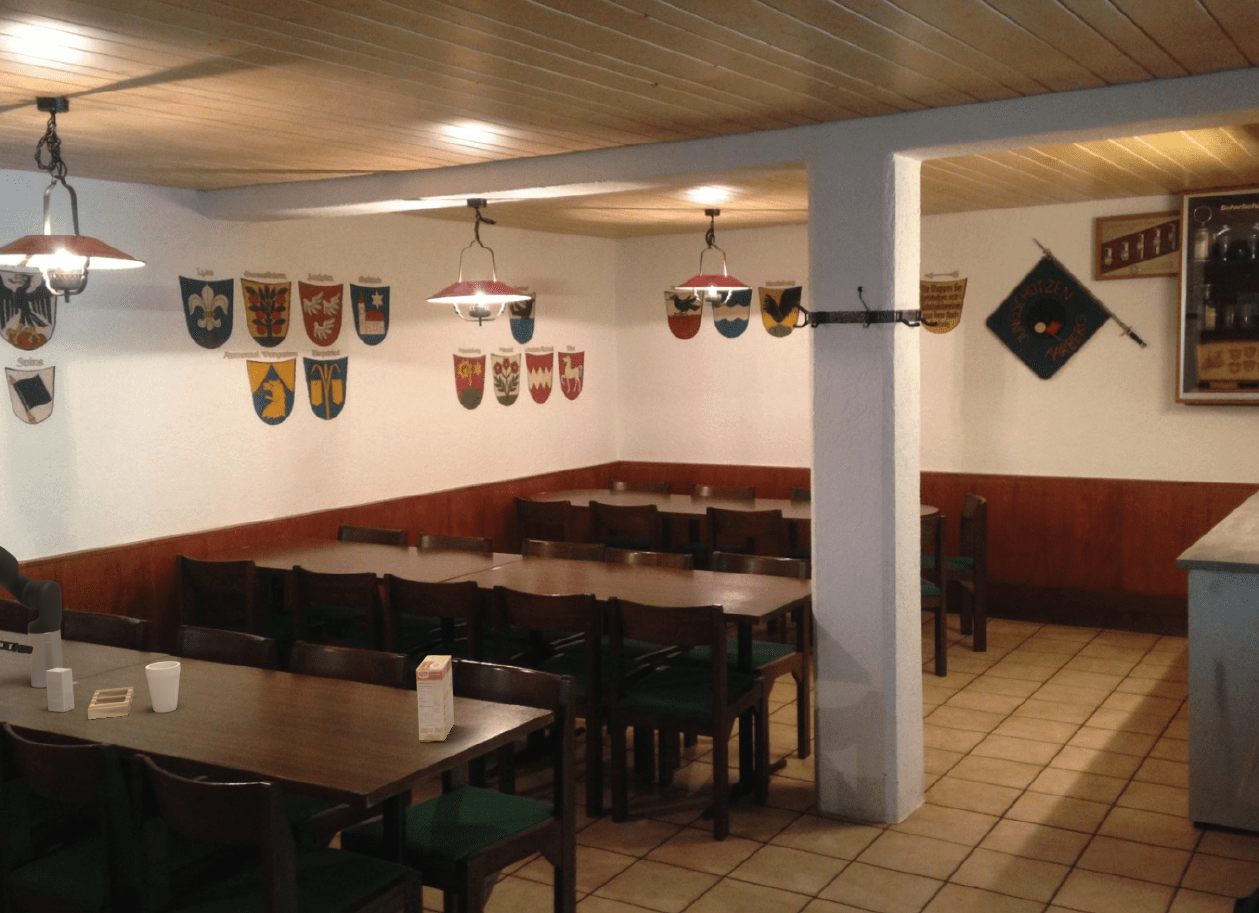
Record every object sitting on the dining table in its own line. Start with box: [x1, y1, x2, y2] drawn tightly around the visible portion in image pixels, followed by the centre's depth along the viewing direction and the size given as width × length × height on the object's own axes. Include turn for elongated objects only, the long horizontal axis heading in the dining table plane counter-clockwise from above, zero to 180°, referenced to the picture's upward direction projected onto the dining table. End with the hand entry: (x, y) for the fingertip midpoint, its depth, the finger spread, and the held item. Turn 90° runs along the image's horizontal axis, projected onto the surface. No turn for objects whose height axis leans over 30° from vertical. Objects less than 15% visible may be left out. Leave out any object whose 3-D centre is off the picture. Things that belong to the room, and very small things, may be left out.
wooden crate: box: [87, 686, 135, 720], centre depth 352 cm, size 22×10×3 cm, turn 19°
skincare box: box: [46, 667, 75, 713], centre depth 351 cm, size 6×4×12 cm
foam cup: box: [144, 660, 182, 713], centre depth 349 cm, size 10×9×13 cm
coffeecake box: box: [415, 654, 455, 741], centre depth 319 cm, size 15×7×20 cm, turn 178°
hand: (28, 650), depth 349 cm, fingers open, 8 cm apart
